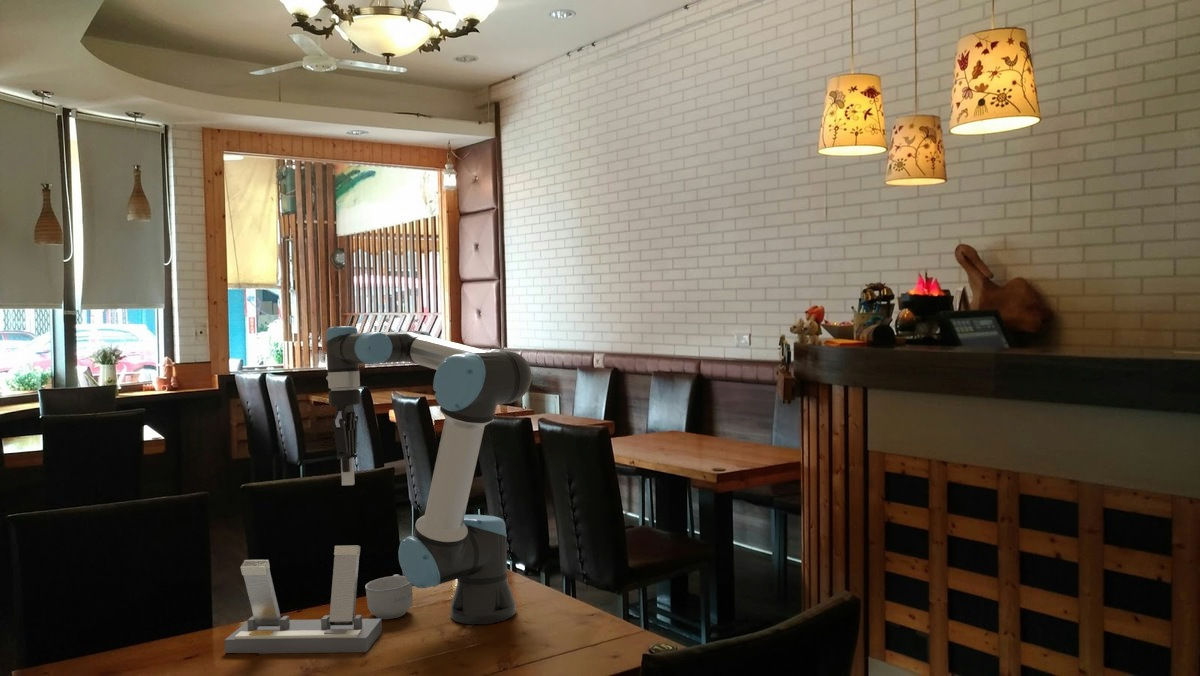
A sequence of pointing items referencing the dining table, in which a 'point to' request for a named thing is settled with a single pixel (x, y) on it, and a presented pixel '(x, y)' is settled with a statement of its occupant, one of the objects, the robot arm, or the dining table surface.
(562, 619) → the dining table surface
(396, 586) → the teacup
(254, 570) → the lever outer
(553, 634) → the dining table surface
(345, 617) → the lever inner
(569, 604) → the dining table surface
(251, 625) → the grey stand base
